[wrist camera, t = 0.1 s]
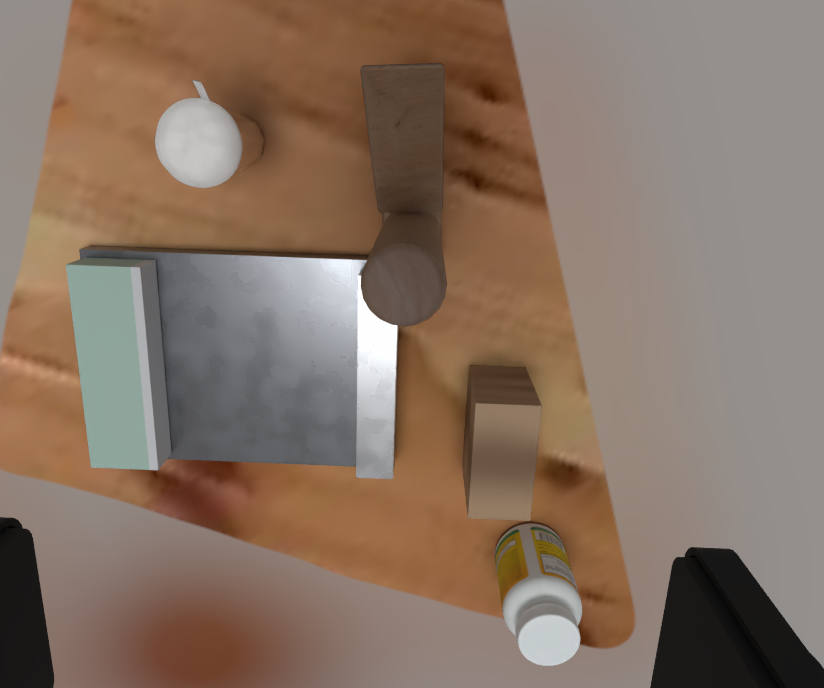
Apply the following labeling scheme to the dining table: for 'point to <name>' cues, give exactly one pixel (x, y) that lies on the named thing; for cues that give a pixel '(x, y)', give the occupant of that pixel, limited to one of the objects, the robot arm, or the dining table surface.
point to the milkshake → (206, 141)
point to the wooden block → (406, 191)
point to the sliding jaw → (120, 361)
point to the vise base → (273, 358)
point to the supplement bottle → (538, 593)
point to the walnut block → (500, 443)
